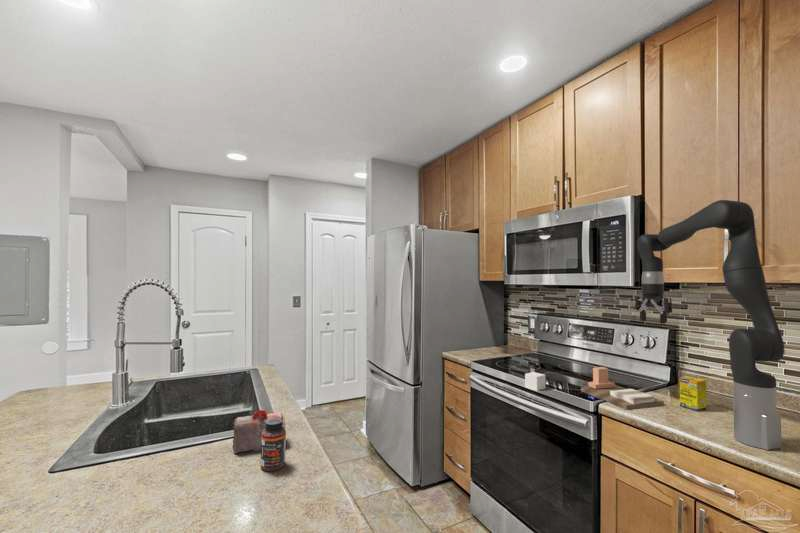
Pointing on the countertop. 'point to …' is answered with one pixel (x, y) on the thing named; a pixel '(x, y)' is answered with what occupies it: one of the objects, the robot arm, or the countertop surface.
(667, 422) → the countertop surface
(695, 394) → the supplement box
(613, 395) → the board
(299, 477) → the countertop surface
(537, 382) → the white cube
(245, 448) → the pink box with bow
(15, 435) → the countertop surface
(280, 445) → the supplement bottle
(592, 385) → the stub
